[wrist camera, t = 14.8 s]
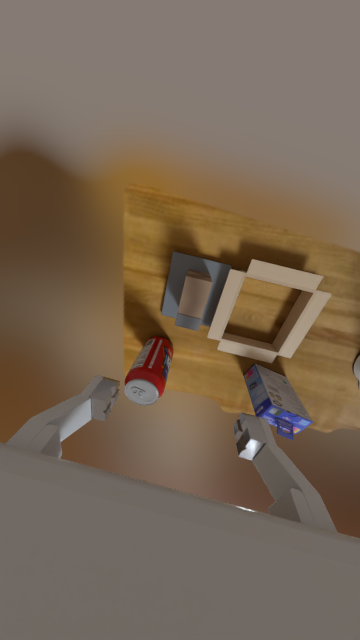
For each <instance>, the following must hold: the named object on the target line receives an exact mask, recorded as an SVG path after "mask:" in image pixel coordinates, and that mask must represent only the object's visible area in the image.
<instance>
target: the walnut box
mask: <svg viewBox="0 0 360 640" xmlns="http://www.w3.org/2000/svg"><path fill="white" fill-rule="evenodd" d="M212 283H213V282H212V279H211V276H210V274H207V273H203V272H199V271H195V270H191V269H189V270H188V273H187V275H186V278H185V283H184V287H183V291H182V296H181V300H180V304H179V309H178V313H177V317H176V321H175V325H176V326H180V327H184V328H188V329H192V330H196V331H197V330H198V329H199V325H200V322H201V319H202V316H203V312H204V309H205V306H206V303H207V299H208V296H209V293H210V290H211V286H212Z"/></svg>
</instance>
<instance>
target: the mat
mask: <svg viewBox="0 0 360 640" xmlns="http://www.w3.org/2000/svg"><path fill="white" fill-rule="evenodd" d="M231 268H232V266H231V265H228V264H223V263H219V262H215V261H211V260H207V259H203V258H199V257H195V256H191V255H187V254H183V253H179V252H175V251H173V255H172V260H171V265H170V271H169V276H168V281H167V287H166V292H165V297H164V303H163V308H162V314H161V315H165V316H169V317H173V318H176V317H177V313H178V309H179V304H180V300H181V296H182V291H183V287H184V283H185V278H186V275H187V273H188V270H189V269H191V270H195V271H199V272H203V273H207V274H210V276H211V279H212V282H213V283H212V286H211V290H210V293H209V296H208V299H207V303H206V306H205V309H204V312H203V316H202V319H201V322H200V324H201V325H205V326H209V327H210V326H211V323H212V321H213V318H214V315H215V312H216V309H217V306H218V303H219V300H220V297H221V294H222V291H223V288H224V285H225V283H226V280H227V277H228V274H229V271H230V269H231Z"/></svg>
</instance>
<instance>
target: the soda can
mask: <svg viewBox="0 0 360 640" xmlns="http://www.w3.org/2000/svg"><path fill="white" fill-rule="evenodd" d="M172 356H173V346H172V344H171V343H170V342H169V341H168V340H167V339H165V338H163V337H152V338H149V339H148V340H147V341H146V342H145V344H144V346H143V348H142V349H141V351H140V353H139V355H138V356H137V358H136V360H135V362H134V364H133V365H132V367H131V369H130V371H129V373H128V374H127V376H126V379H125V394H126V396H127V397H128V398H129V399H130V400H131V401H132V402H134V403H136V404H139V405H151V404H153V403H155V402H156V401H157V400H158V398H159V397H160V396H161V395H162V394H163V392H164V389H165V385H166V381H167V377H168V373H169V369H170V365H171V361H172Z"/></svg>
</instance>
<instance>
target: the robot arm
mask: <svg viewBox="0 0 360 640" xmlns="http://www.w3.org/2000/svg"><path fill="white" fill-rule="evenodd" d="M354 374H355V376H356V377H357V379H358V380H359V389H360V355H359V357H358V358H357V360H356V362H355V364H354ZM119 385H120V381H117V380H114V379H110V378H106V377H103V376H99V375H97V376H95V377H94V378H93V379H92V381H91V382H90V383H89V384H88V386H87V387H86V388H85V389H84V391H83V392H82V393H81V394H80V395H76V396H74V397H72V398H70V399H68V400H66V401H64V402H62V403H60V404H58V405H56V406H54V407H52V408H50V409H48V410H46V411H44V412H42V413H40V414H38V415H36V416H34V417H32V418H30V419H29V420H28V421H27V422H26V423H25V424H24V426H22V428H21V429H19V431H18V432H17V433H16V434H15V435H14V436H13V437H12V438H11V439H10V440H9V441H8V442H7V443H6V444H4V443H0V640H360V539H359V538H355V537H352V536H348V535H344V534H341V533H337V530H336V528H335V526H334V524H333V522H332V520H331V518H330V516H329V514H328V511H327V509H326V507H325V505H324V503H323V501H322V499H321V496H320V495H319V493H318V492H317V491H316V490H315V489H314V487H313V486H312V485H311V484H310V483H309V482H308V480H307V479H306V478H305V477H304V476H303V474H302V473H301V472H300V471H299V470H298V469H297V467H296V466H295V465H294V464H293V463H292V462H291V460H290V459H289V458H288V457H287V456H286V454H285V453H284V452H283V451H282V450H281V449H280V447H277V445H276V442H275V440H274V437H273V435H272V432H271V429H270V427H269V424H268V421H267V420H266V419H265V418H261V417H257V416H254V415H250V414H246V413H241V414H240V415H239V418H240V419H239V420H237V421H236V423H235V426H234V434H235V437H236V439H237V440H238V442H237V443H236V445H237V451H238V456H239V457H242V458H246V459H249V460H253V461H252V462H253V464H254V465H255V467H256V469H257V471H258V472H259V474H260V476H261V477H262V479H263V481H264V483H265V484H266V486H267V488H268V489H269V491H270V493H271V494H272V496H273V498H274V500H275V501H276V502H274V503H273V504H272V505H271V506H270V507H269V509H268V510H269V513H270V514H266V513H262V512H258V511H255V510H251V509H247V508H243V507H240V506H236V505H232V504H228V503H224V502H221V501H217V500H213V499H210V498H206V497H202V496H198V495H194V494H191V493H187V492H183V491H180V490H176V489H172V488H168V487H165V486H161V485H157V484H153V483H150V482H146V481H142V480H139V479H135V478H131V477H127V476H124V475H120V474H116V473H112V472H108V471H105V470H101V469H97V468H94V467H90V466H86V465H82V464H78V463H75V462H71V461H67V460H64V459H60V457H61V455H62V449H61V444H60V442H61V441H63V440H64V439H65V438H67V437H68V436H69V435H71V434H72V433H73V432H75V431H76V430H77V429H79V428H80V427H81V426H82V425H84V424H85V423H87V422H88V421H89V420H91V418H93V419H97V420H102V421H106V419H107V417H108V415H109V413H110V412H111V406H113V405H114V404H115V402H116V400H117V397H118V395H119V389H118V387H119Z"/></svg>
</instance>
